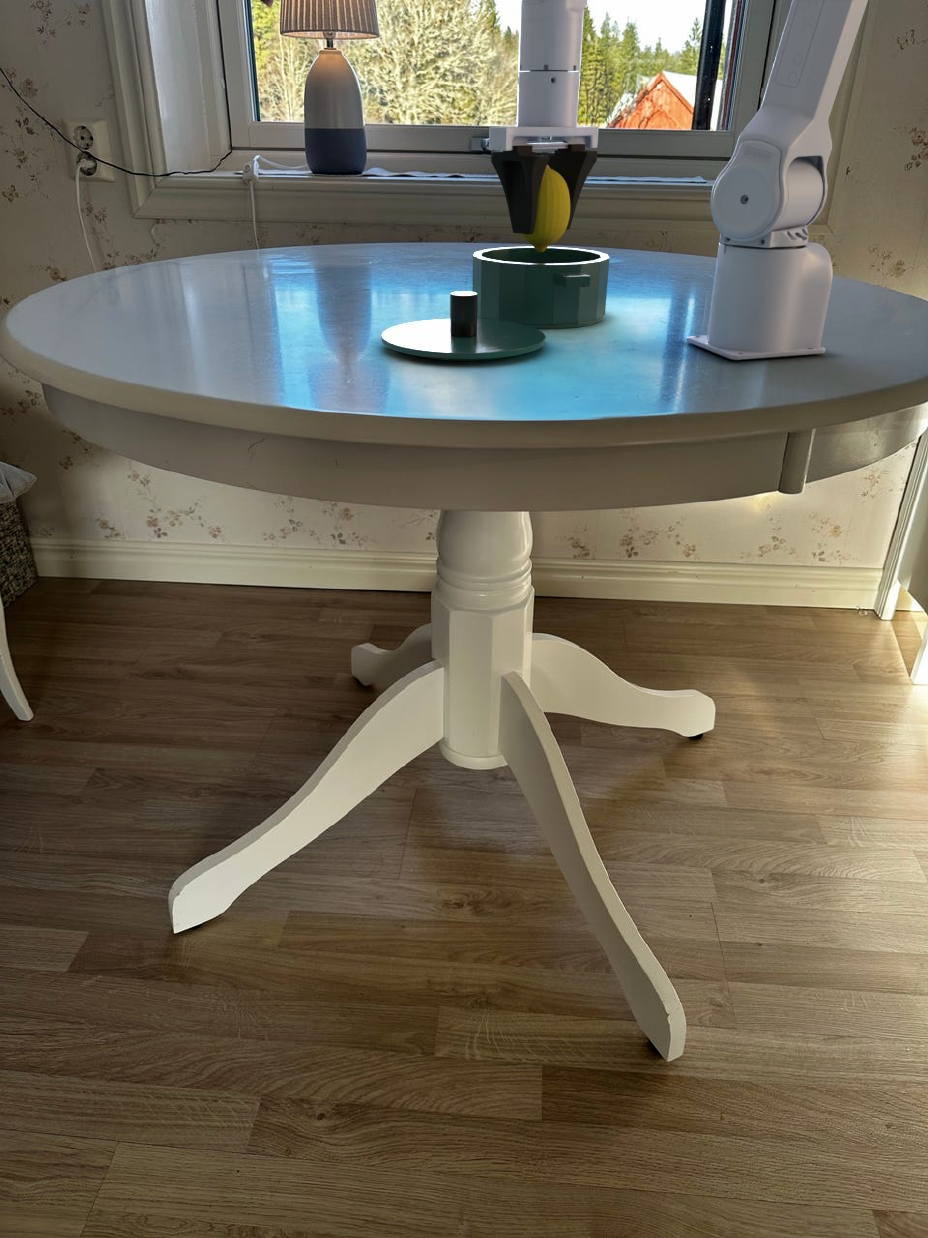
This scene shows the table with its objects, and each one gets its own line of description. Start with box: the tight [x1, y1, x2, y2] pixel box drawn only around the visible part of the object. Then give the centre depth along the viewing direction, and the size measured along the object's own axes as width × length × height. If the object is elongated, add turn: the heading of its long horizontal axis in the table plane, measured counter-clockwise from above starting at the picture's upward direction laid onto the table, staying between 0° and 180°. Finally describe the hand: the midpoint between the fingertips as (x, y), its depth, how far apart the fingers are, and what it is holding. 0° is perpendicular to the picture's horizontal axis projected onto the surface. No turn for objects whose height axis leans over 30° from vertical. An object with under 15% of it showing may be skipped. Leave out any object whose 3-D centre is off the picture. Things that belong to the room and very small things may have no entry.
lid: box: [381, 290, 547, 362], centre depth 81 cm, size 15×15×5 cm
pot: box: [471, 246, 610, 330], centre depth 94 cm, size 14×19×6 cm
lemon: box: [519, 165, 570, 252], centre depth 91 cm, size 6×6×8 cm
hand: (541, 230), depth 92 cm, fingers closed on lemon, 5 cm apart
